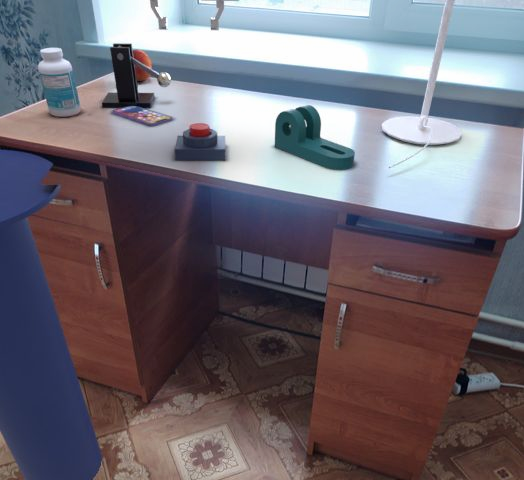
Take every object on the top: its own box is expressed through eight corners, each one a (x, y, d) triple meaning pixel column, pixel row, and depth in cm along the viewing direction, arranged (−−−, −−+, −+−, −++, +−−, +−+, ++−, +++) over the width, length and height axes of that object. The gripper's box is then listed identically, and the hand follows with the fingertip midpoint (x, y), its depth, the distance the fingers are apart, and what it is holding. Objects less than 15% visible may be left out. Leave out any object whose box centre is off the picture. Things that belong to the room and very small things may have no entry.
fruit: (120, 81, 145) (115, 49, 140) (141, 76, 150) (137, 45, 144) (138, 86, 141) (134, 54, 136) (159, 80, 146) (156, 49, 141)
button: (189, 138, 101) (189, 129, 100) (190, 131, 104) (190, 122, 103) (209, 138, 101) (209, 129, 100) (210, 131, 104) (209, 122, 103)
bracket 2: (274, 146, 108) (275, 107, 103) (296, 139, 112) (298, 101, 107) (338, 172, 99) (343, 130, 93) (360, 163, 102) (366, 123, 97)
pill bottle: (61, 107, 126) (47, 45, 117) (87, 110, 124) (74, 47, 115) (43, 115, 121) (26, 51, 112) (69, 119, 119) (55, 54, 110)
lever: (167, 88, 130) (173, 75, 128) (166, 91, 127) (172, 79, 125) (115, 55, 124) (120, 42, 122) (113, 59, 122) (118, 45, 120)
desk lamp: (381, 116, 125) (423, -134, 95) (456, 122, 123) (523, -133, 93) (378, 175, 98) (435, -151, 68) (474, 184, 95) (577, -149, 66)
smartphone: (134, 108, 128) (174, 121, 121) (110, 114, 124) (151, 128, 117) (133, 104, 127) (174, 117, 120) (110, 110, 123) (150, 124, 116)
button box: (175, 160, 102) (173, 140, 99) (178, 146, 108) (176, 126, 105) (225, 160, 102) (224, 140, 99) (225, 146, 108) (224, 126, 105)
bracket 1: (154, 97, 134) (148, 42, 125) (150, 108, 127) (143, 50, 118) (108, 97, 133) (99, 41, 124) (102, 107, 126) (91, 49, 118)
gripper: (244, -67, 87) (244, 27, 96) (124, -70, 86) (136, 25, 95) (246, -65, 82) (246, 33, 91) (119, -69, 81) (132, 32, 90)
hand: (189, 29), depth 93 cm, fingers open, 8 cm apart
